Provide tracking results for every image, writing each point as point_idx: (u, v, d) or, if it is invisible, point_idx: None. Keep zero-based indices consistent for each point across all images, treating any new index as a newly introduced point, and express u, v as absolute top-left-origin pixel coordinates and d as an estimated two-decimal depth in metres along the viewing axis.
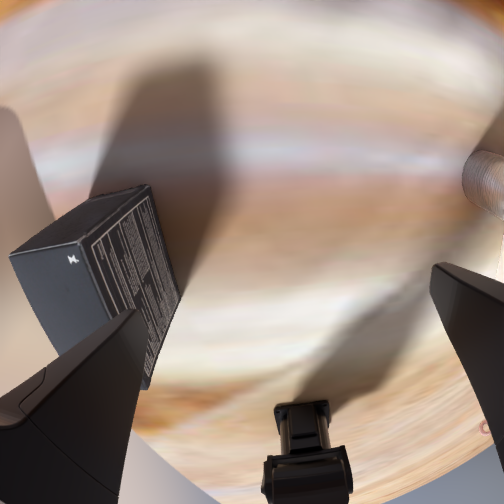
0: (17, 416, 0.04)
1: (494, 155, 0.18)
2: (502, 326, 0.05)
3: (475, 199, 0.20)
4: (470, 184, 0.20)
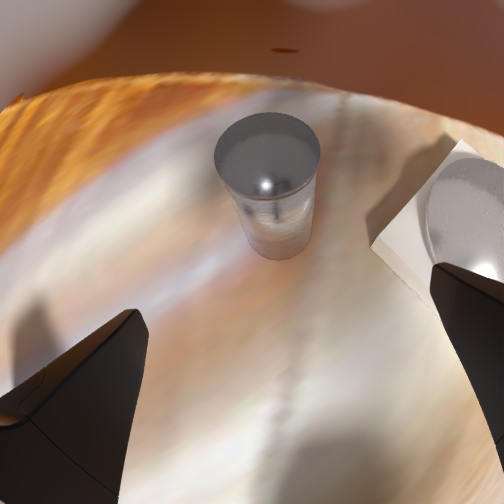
0: (17, 416, 0.04)
1: None
2: (502, 326, 0.05)
3: (269, 252, 0.21)
4: (253, 245, 0.22)
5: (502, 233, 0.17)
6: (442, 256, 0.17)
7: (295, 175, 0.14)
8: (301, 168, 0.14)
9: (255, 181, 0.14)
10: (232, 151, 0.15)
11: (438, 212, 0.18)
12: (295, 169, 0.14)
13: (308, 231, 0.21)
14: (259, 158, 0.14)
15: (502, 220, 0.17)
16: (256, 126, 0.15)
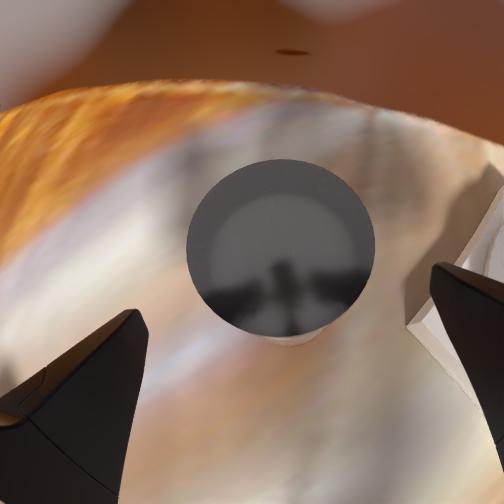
0: (17, 415, 0.04)
1: None
2: (502, 326, 0.05)
3: (276, 344, 0.15)
4: None
5: None
6: None
7: (332, 295, 0.08)
8: (342, 280, 0.08)
9: (259, 306, 0.08)
10: (218, 240, 0.08)
11: None
12: (332, 282, 0.08)
13: None
14: (265, 256, 0.08)
15: None
16: (260, 187, 0.09)
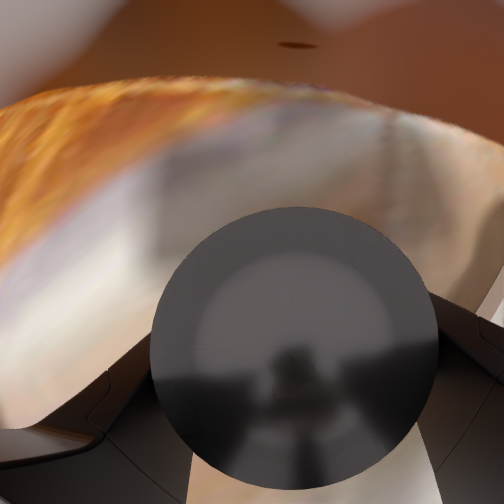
0: (89, 433, 0.04)
1: None
2: None
3: None
4: None
5: None
6: None
7: (371, 435, 0.04)
8: (388, 413, 0.04)
9: (262, 452, 0.04)
10: (198, 347, 0.05)
11: None
12: (373, 417, 0.04)
13: None
14: (272, 380, 0.05)
15: None
16: (265, 258, 0.05)
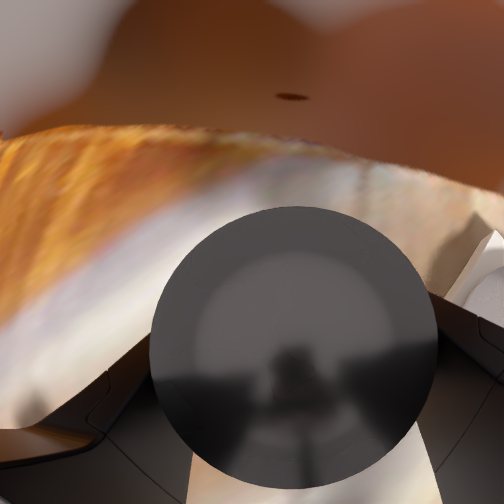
0: (89, 433, 0.04)
1: None
2: None
3: None
4: None
5: None
6: None
7: (370, 435, 0.04)
8: (387, 412, 0.04)
9: (261, 451, 0.04)
10: (196, 346, 0.05)
11: None
12: (372, 417, 0.04)
13: None
14: (272, 379, 0.05)
15: None
16: (264, 258, 0.05)
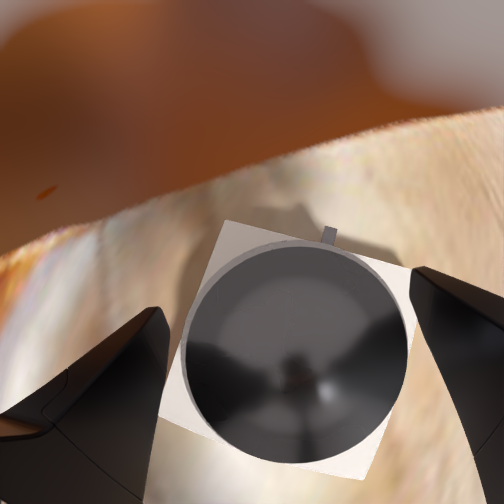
0: (41, 422, 0.04)
1: None
2: (478, 335, 0.05)
3: None
4: None
5: None
6: None
7: (354, 421, 0.06)
8: (367, 405, 0.06)
9: (272, 434, 0.06)
10: (223, 356, 0.07)
11: None
12: (355, 408, 0.06)
13: None
14: (280, 379, 0.06)
15: None
16: (275, 288, 0.07)
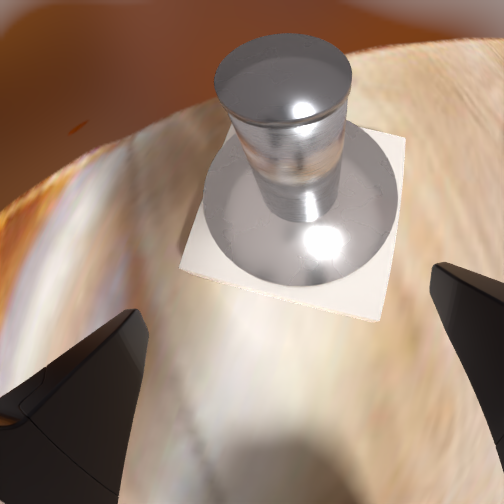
0: (17, 416, 0.04)
1: None
2: (502, 326, 0.05)
3: (290, 212, 0.17)
4: (271, 205, 0.18)
5: None
6: (235, 256, 0.19)
7: (323, 94, 0.09)
8: (330, 87, 0.09)
9: (270, 104, 0.10)
10: (237, 75, 0.10)
11: (216, 214, 0.20)
12: (322, 88, 0.09)
13: (337, 183, 0.16)
14: (273, 78, 0.10)
15: None
16: (266, 47, 0.10)
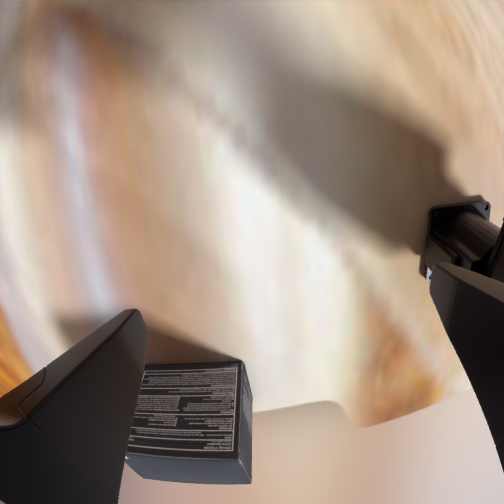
0: (17, 416, 0.04)
1: None
2: (502, 326, 0.05)
3: None
4: None
5: None
6: None
7: None
8: None
9: None
10: None
11: None
12: None
13: None
14: None
15: None
16: None
